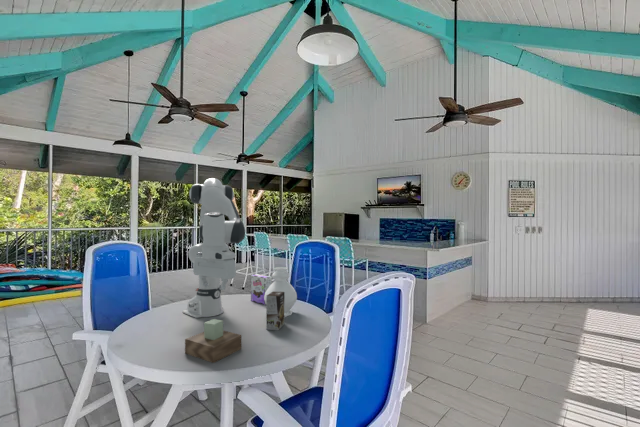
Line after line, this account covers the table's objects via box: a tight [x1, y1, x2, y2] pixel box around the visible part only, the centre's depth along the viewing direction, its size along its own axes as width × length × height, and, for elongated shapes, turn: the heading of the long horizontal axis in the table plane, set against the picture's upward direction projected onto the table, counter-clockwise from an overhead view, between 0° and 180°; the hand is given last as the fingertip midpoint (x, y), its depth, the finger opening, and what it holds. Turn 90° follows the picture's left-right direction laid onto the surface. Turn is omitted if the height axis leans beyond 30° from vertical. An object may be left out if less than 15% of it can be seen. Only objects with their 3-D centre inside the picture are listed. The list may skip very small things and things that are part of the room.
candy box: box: [250, 273, 273, 305], centre depth 196 cm, size 14×6×16 cm, turn 50°
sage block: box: [203, 318, 224, 340], centre depth 124 cm, size 5×5×6 cm
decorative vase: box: [264, 266, 298, 318], centre depth 172 cm, size 18×18×25 cm
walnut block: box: [184, 329, 242, 364], centre depth 124 cm, size 16×14×6 cm
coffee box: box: [265, 292, 285, 331], centre depth 151 cm, size 9×6×16 cm
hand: (213, 288), depth 124 cm, fingers open, 8 cm apart
